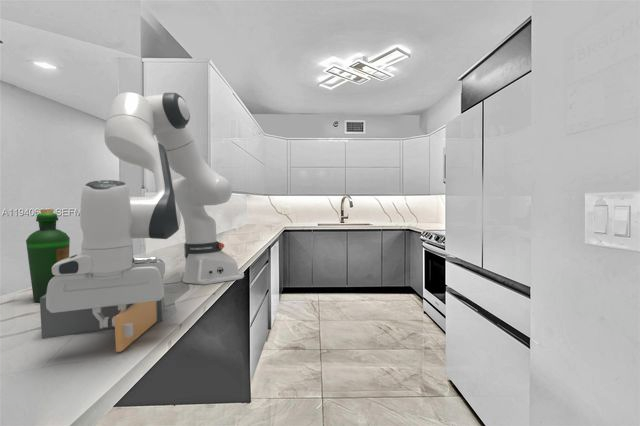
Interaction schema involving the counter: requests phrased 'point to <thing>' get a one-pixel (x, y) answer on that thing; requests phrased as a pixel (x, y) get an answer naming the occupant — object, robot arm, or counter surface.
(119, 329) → the side door
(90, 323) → the grey cabinet
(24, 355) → the counter surface
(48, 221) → the bottle
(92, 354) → the counter surface
